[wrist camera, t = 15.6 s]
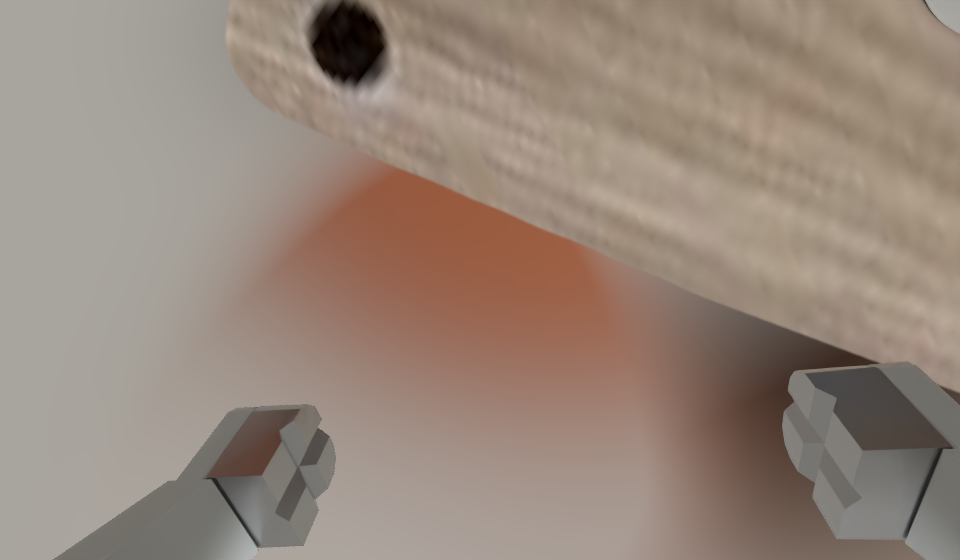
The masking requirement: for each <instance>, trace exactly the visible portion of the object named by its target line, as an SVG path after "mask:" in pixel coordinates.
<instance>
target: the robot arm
mask: <svg viewBox="0 0 960 560" xmlns="http://www.w3.org/2000/svg"><path fill="white" fill-rule="evenodd" d="M925 1H926V3H927V5H928V6H929V8H930V10H931V11H932V12H933V14H934V15H935V16H936V17H937V18H938V19H939V20H940V21H941V22H942V23H943V24H944V25H946V26H947V27H948V28H950V29H952V30H953V31H955V32H957V33H959V34H960V0H925ZM788 391H789V393H790V394H791V396H792V397H793V399H794V400H795V402H794V403H793V404H792V405H790V406H789V407H788V408H787V409H786V410H785V411H784V417H783V425H782V428H783V435H784V441H785V445H786V448H787V451H788V453H789V456H790V458H791V460H792V462H793V464H794V465H795V467H796V469H797V471H798V472H799V473H801V474H803V475H804V476H805V477H807V478H809V479H810V480H811V481H813V482H814V483H815V488H814V492H813V496H812V497H813V499H814V501H815V502H816V504H817V506H818V508H819V509H820V511H821V513H822V514H823V516H824V518H825V520H826V521H827V523H828V525H829V526H830V528H831V530H832V532H833V533H834V535H835V537H836V539H888V540H890V539H892V540H906V541H905V543H906V544H907V545H908V546H909V547H911V548H912V549H913V550H915V551H916V552H917V553H918V554H920V555H921V556H922V557H924V558H925V559H926V560H960V405H959V404H958V403H956V402H955V401H954V400H953V399H952V398H951V397H950V396H949V395H948V394H947V393H946V392H944V390H942V389H941V388H940V387H939V386H938V385H937V384H936V383H935V382H934V381H933V380H932V379H931V378H929V377H928V376H927V375H926V374H925V373H924V372H923V371H922V370H921V369H920V368H919V367H917V366H916V365H913V364H911V363H909V362H896V363H884V364H872V365H867V366H851V367H838V368H825V369H812V370H799V371H795V372H794V373H793V375H792V376H791V377H790V382H789V387H788ZM321 420H322V419H321V417H320V415H319V413H318V411H317V409H316V407H315V406H312V405H308V404H302V405H280V406H260V407H245V408H236V409H234V410H232V411H230V412H228V413H227V414H226V416H225V417H224V419H223V420H222V421H221V422H220V424H219V425H218V426H217V428H216V429H215V430H214V432H213V433H212V434H211V435H210V437H209V438H208V439H207V441H206V442H205V443H204V445H203V446H202V447H201V449H200V450H199V451H198V453H197V454H196V455H195V457H194V458H193V459H192V460H191V462H190V463H189V464H188V466H187V467H186V468H185V470H184V471H183V472H182V474H181V475H180V476H179V477H178V479H177V480H176V481H168V482H166V483H165V484H163V485H162V486H160V487H159V488H157V489H156V490H154V491H153V492H151V493H150V494H149V495H147V496H146V497H144V498H143V499H141V500H140V501H138V502H137V503H135V504H134V505H132V506H131V507H130V508H128V509H127V510H125V511H124V512H122V513H121V514H119V515H118V516H116V517H115V518H113V519H112V520H111V521H109V522H108V523H106V524H105V525H103V526H102V527H100V528H99V529H97V530H96V531H94V532H93V533H91V534H90V535H88V536H87V537H86V538H84V539H83V540H81V541H80V542H78V543H77V544H75V545H74V546H72V547H71V548H69V549H68V550H66V551H65V552H64V553H62V554H61V555H59V556H58V557H56V558H55V559H53V560H251V558H252V557H253V556H254V555H255V554H256V553H257V552H258V551H259V549H258V548H263V547H286V546H304V543H305V541H306V539H307V536H308V534H309V532H310V529H311V527H312V525H313V522H314V520H315V518H316V516H317V513H318V511H319V509H318V506H317V502H316V498H317V497H319V496H320V495H321V494H322V493H323V492H324V491H325V490H327V489H328V487H329V485H330V482H331V480H332V477H333V475H334V469H335V461H336V455H335V449H334V445H333V442H332V440H331V438H330V436H328V435H327V434H326V433H324V432H323V431H322V430H320V429H319V428H318V427H319V425H320V422H321Z"/></svg>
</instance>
